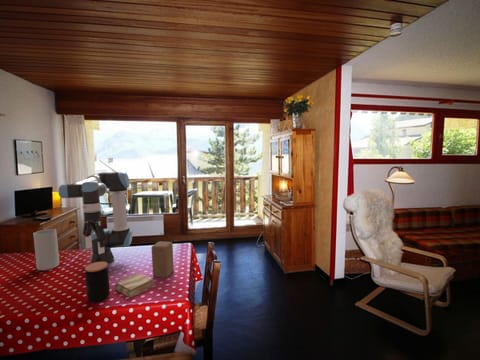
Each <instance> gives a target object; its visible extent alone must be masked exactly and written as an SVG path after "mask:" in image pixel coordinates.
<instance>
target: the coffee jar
mask: <svg viewBox="0 0 480 360" xmlns="http://www.w3.org/2000/svg"><path fill="white" fill-rule="evenodd" d="M108 265H109V264H108V263H107V262H95V263H92V264H90V263H89V264H87V265H86V266H85V267H84V271H85V272H84V274H85V287H86V297H87V301H88V302H90V303H93V304H94V303H95V304H96V303H101V302H103V301H105V300H107V299H108V298H109V296H110V294H111V290H110V278H109V267H108Z"/></svg>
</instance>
